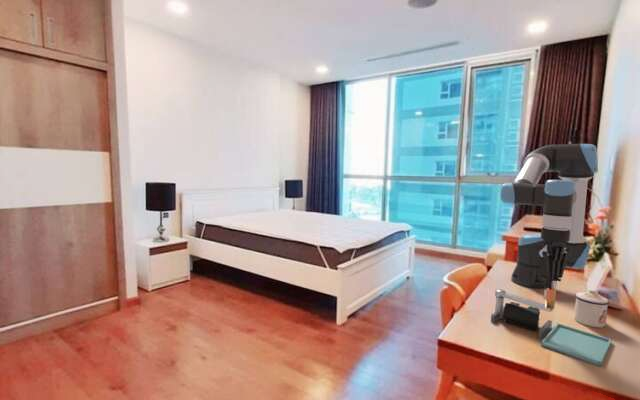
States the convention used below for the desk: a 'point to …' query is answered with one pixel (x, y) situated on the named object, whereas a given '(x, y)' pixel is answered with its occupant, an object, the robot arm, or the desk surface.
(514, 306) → the end cap
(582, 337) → the tray
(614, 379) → the desk surface
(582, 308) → the teacup with lid
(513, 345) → the desk surface
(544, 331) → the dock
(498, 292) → the crank handle
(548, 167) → the robot arm
